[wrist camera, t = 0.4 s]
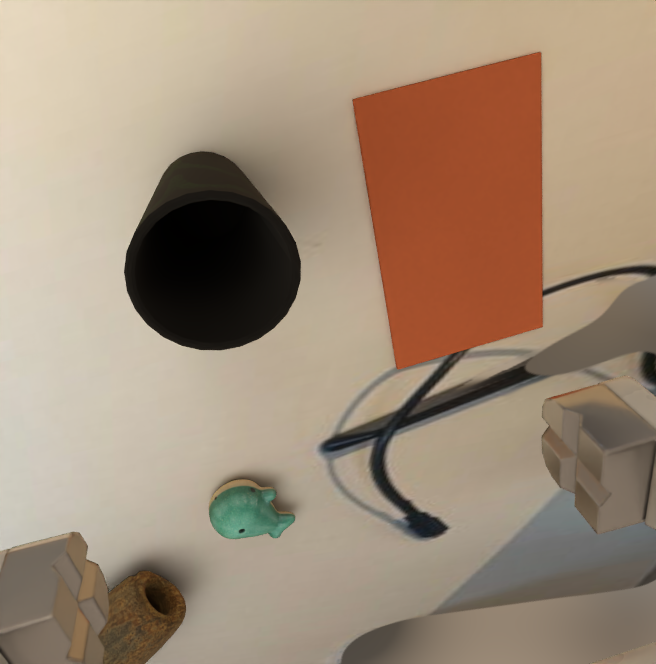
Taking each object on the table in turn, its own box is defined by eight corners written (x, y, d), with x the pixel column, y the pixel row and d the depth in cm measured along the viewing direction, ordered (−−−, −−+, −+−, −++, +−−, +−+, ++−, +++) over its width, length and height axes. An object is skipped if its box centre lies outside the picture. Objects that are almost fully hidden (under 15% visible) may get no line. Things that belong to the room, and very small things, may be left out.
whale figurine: (237, 460, 47) (241, 494, 44) (306, 495, 50) (315, 529, 47) (192, 507, 48) (194, 544, 45) (262, 539, 52) (268, 575, 49)
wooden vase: (96, 673, 56) (86, 751, 50) (24, 654, 52) (5, 734, 47) (193, 575, 52) (195, 646, 47) (123, 548, 49) (116, 621, 43)
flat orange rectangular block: (352, 99, 36) (353, 99, 35) (538, 52, 37) (541, 52, 36) (396, 367, 46) (397, 369, 46) (540, 325, 47) (542, 327, 47)
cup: (285, 159, 36) (326, 223, 26) (245, 270, 39) (268, 366, 29) (158, 113, 34) (150, 165, 23) (125, 236, 37) (105, 329, 26)
